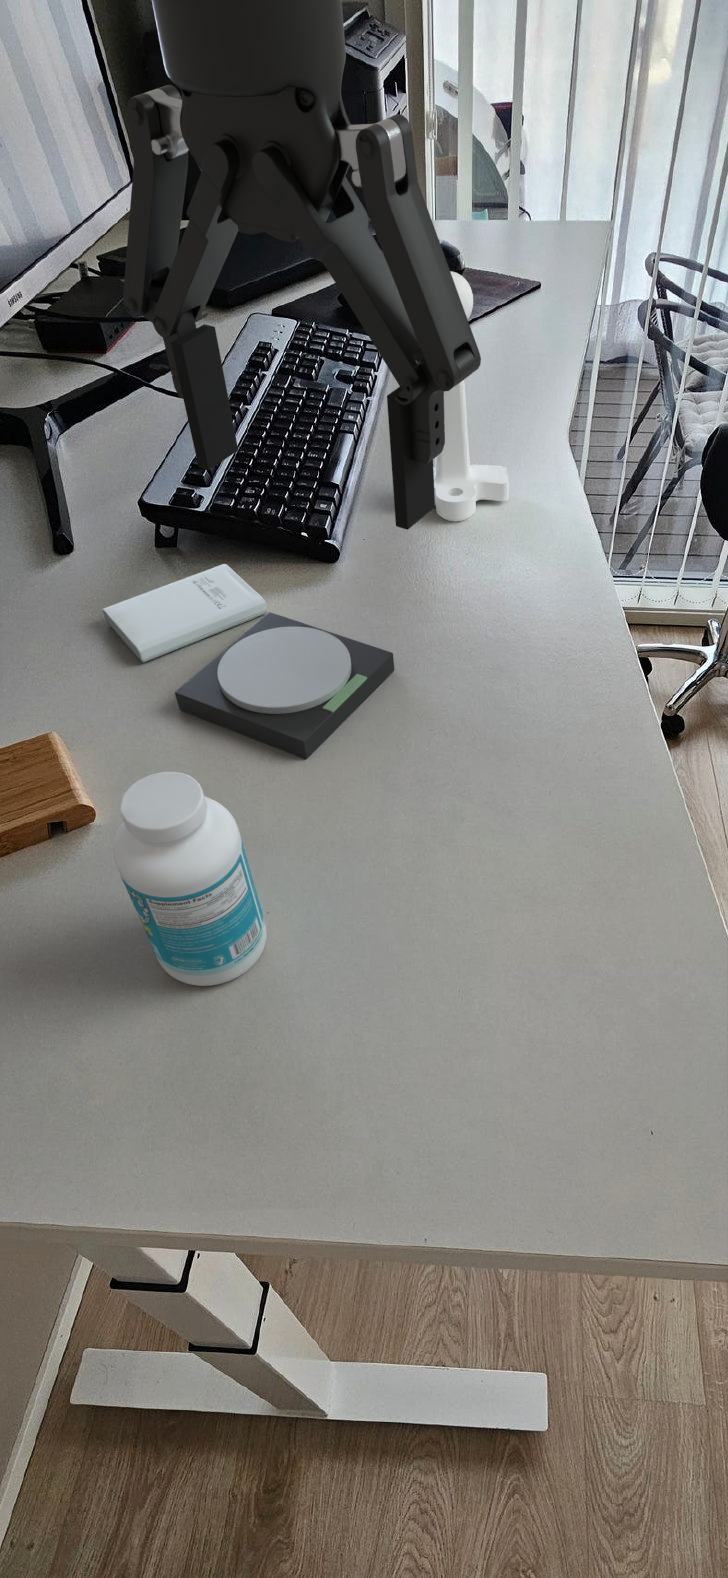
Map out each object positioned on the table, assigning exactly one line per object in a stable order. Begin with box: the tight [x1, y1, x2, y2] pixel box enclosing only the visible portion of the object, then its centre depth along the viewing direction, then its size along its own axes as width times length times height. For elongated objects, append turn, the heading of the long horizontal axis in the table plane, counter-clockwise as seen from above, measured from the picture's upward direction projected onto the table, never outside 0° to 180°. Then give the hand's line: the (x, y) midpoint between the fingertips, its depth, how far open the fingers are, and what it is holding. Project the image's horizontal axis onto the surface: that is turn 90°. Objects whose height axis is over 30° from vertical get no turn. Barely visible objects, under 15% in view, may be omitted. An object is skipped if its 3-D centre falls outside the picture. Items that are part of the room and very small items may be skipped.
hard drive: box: [101, 563, 269, 664], centre depth 89 cm, size 2×8×12 cm
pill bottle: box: [112, 771, 268, 987], centre depth 61 cm, size 8×7×14 cm
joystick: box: [433, 270, 510, 522], centre depth 93 cm, size 11×8×20 cm
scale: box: [174, 611, 395, 760], centre depth 82 cm, size 13×13×2 cm
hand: (313, 487), depth 55 cm, fingers open, 13 cm apart
